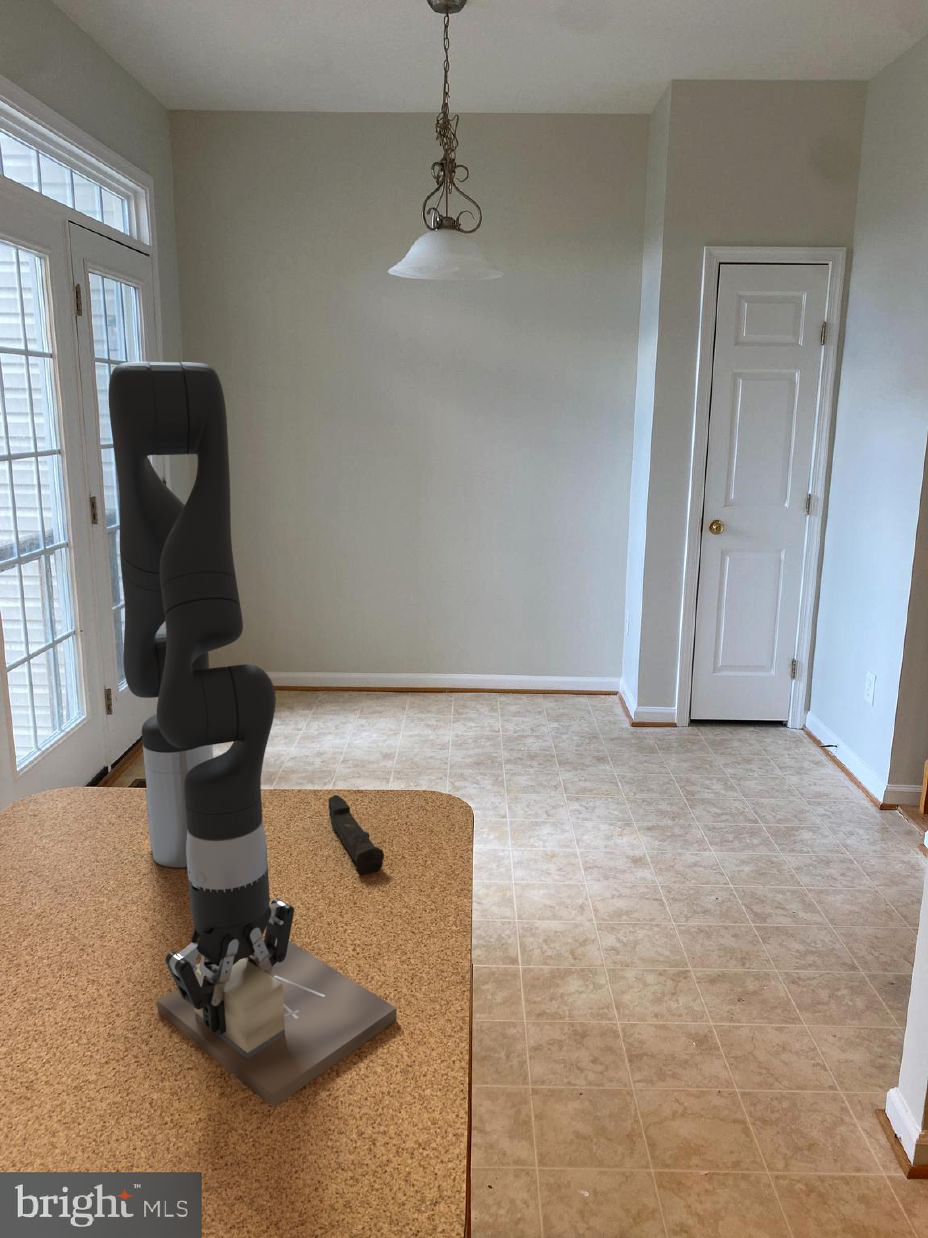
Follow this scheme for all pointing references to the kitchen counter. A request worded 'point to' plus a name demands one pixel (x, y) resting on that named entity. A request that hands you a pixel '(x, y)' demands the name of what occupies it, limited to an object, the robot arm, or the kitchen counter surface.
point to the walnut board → (294, 1027)
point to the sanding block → (250, 1009)
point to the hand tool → (354, 837)
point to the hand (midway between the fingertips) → (238, 1016)
